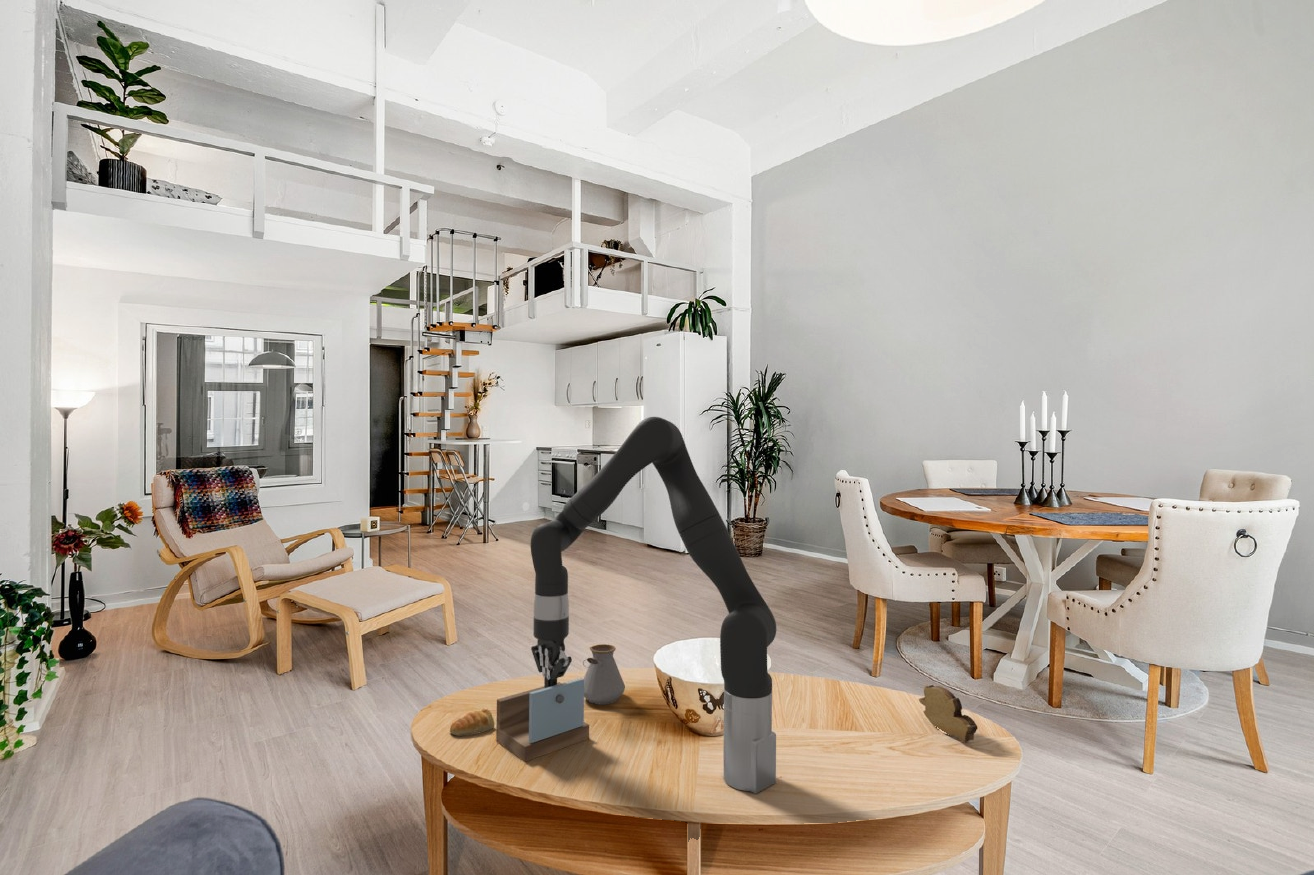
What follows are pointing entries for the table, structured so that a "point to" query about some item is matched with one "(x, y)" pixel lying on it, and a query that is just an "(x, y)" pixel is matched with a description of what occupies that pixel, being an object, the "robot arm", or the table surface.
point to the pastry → (473, 723)
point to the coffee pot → (602, 676)
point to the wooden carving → (947, 713)
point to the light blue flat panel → (556, 709)
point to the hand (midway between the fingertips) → (550, 695)
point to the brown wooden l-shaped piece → (516, 729)
